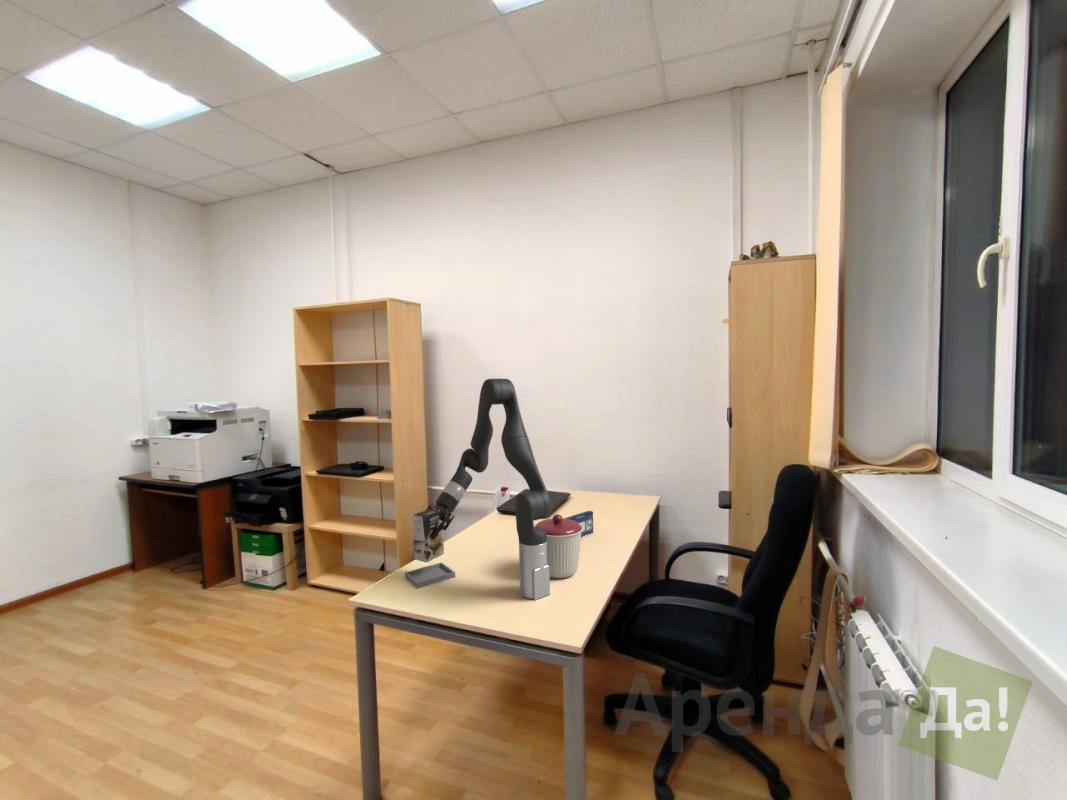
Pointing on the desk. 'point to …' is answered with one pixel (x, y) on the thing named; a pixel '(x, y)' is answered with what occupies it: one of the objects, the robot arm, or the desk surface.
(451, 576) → the tray
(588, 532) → the vhs cassette tape
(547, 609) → the desk surface
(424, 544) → the coffee box
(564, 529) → the canister
